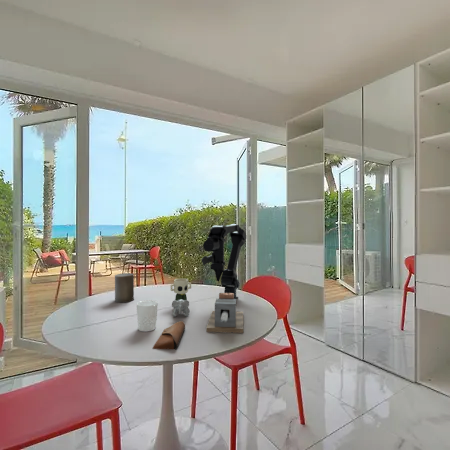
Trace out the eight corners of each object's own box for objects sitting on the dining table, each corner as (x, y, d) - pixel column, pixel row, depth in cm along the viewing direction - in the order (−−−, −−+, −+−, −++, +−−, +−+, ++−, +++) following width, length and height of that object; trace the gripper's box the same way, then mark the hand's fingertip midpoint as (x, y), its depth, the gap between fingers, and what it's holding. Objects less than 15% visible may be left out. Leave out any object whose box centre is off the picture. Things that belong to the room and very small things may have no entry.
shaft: (219, 316, 118) (219, 292, 118) (233, 316, 118) (233, 293, 118) (215, 331, 101) (215, 304, 101) (232, 332, 101) (232, 304, 101)
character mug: (172, 309, 135) (172, 282, 135) (168, 305, 141) (168, 279, 141) (193, 306, 140) (193, 280, 140) (188, 302, 146) (188, 277, 146)
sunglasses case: (163, 328, 109) (172, 314, 109) (178, 338, 109) (187, 323, 109) (151, 349, 91) (161, 332, 91) (169, 360, 91) (180, 343, 91)
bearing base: (212, 314, 128) (212, 291, 128) (243, 314, 127) (243, 291, 127) (206, 331, 107) (206, 304, 107) (243, 332, 106) (243, 305, 106)
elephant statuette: (187, 312, 132) (187, 295, 132) (196, 318, 121) (195, 300, 121) (168, 315, 128) (167, 298, 128) (175, 321, 117) (174, 303, 117)
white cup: (146, 333, 104) (146, 307, 104) (132, 329, 109) (132, 303, 109) (161, 327, 111) (161, 302, 111) (147, 323, 115) (147, 299, 115)
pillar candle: (137, 299, 152) (137, 271, 152) (122, 303, 144) (122, 274, 144) (126, 297, 157) (125, 270, 157) (110, 300, 149) (110, 272, 149)
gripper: (204, 248, 152) (204, 277, 152) (200, 251, 133) (199, 284, 133) (225, 249, 151) (224, 278, 151) (223, 252, 133) (223, 285, 133)
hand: (217, 281), depth 142 cm, fingers closed
